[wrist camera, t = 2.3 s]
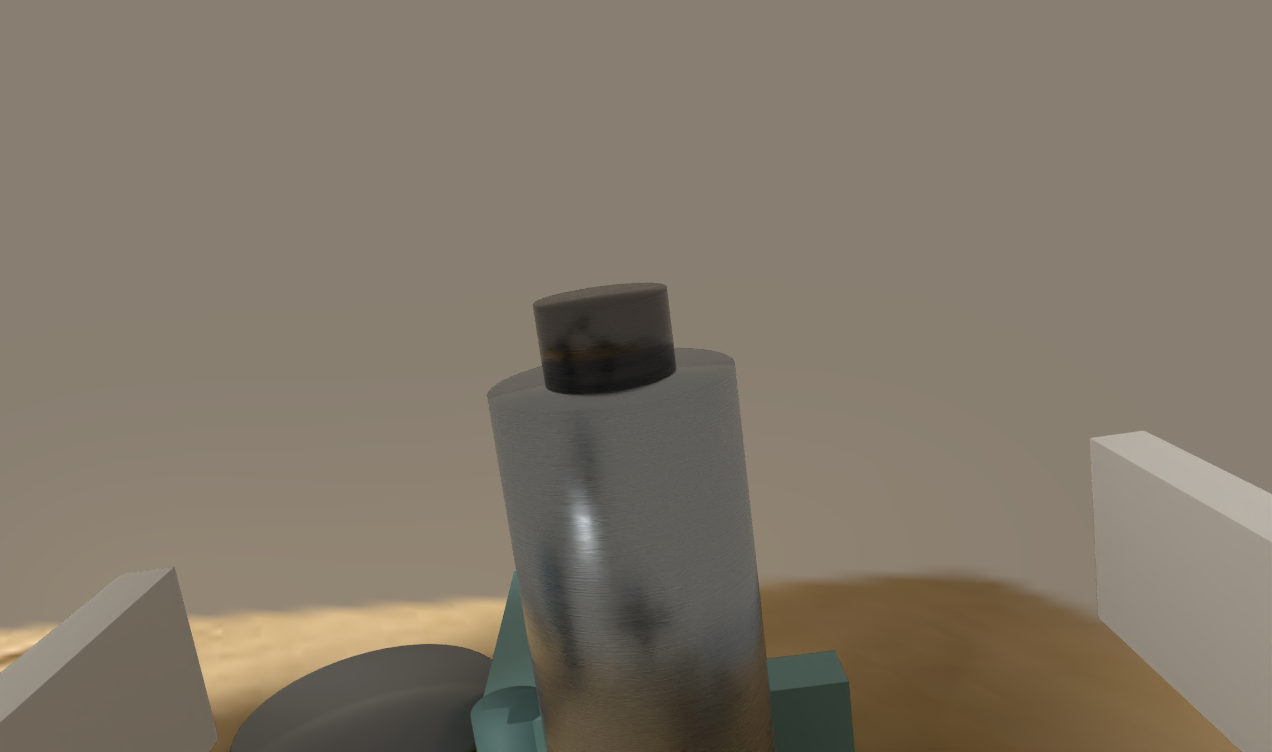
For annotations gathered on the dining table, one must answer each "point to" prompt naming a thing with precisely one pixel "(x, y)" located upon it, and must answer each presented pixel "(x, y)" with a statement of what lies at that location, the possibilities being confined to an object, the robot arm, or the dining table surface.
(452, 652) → the coaster
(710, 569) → the bottle
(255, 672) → the dining table surface
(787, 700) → the bent rail
